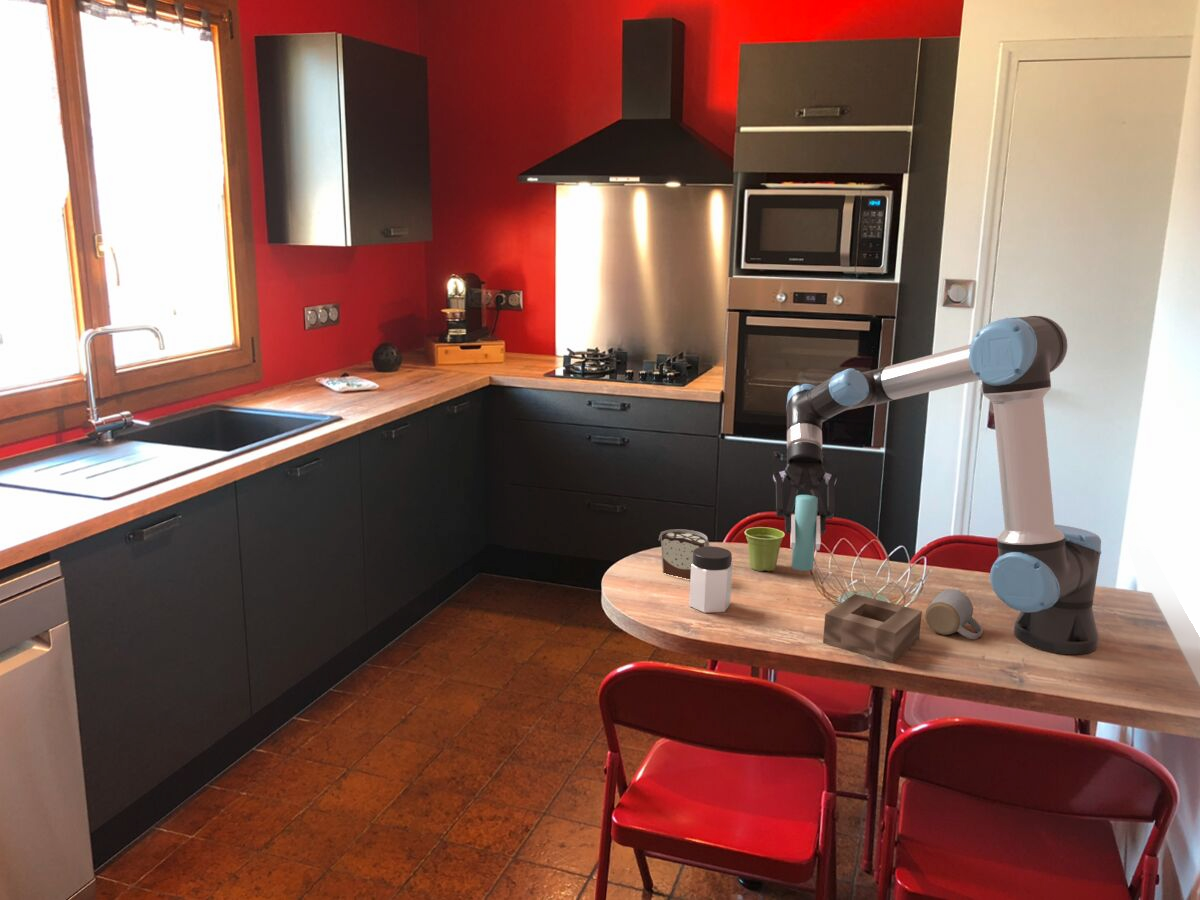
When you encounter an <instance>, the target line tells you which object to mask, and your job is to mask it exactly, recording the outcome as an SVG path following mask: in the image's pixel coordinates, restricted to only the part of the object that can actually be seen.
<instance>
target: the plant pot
mask: <svg viewBox="0 0 1200 900" xmlns="http://www.w3.org/2000/svg"><path fill="white" fill-rule="evenodd" d="M785 534H786V532H784V531H783V530H780V529H777V528H773V527H765V526H764V527H763V526H757V527H750V528H746V529H745V531H744V535H745V537H746V541H747V547H748V548H747V549H748V561H749V566H750V568H751V569H752V570H754V571H758V572H764V571H767V572H772V571H774V570H776V569H777V564H778V557H779V553H780V548H781V543H782V542H783V539H784V538H785V536H786V535H785Z"/></svg>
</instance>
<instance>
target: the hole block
mask: <svg viewBox="0 0 1200 900" xmlns="http://www.w3.org/2000/svg"><path fill="white" fill-rule="evenodd" d="M922 615H923V611H922V610H919V609H915V608H911V607H907V606H904V605H899V604H895V603H892V602H888V601H883V600H880V599H876V598H872V597H867V596H864V595H860V594H857V593H854V594H853V595H850V597H847V598H846V599H845V600H843V601H842V602H841V603H839V604H838V605H836V606H835V607H833V608H832V609H831V610H829V611H827V612H826V613H825V614H824V626H823V636H822V637H823V638H822V639H823V640H822V644H826V645H829V646H833V647H835V648H840V649H842V650H843V649H844V650H846V651H847V650H848V651H850V652H853V653H857V654H860V655H864V656H867V657H871V658H874V659H877V660H881V661H885V662H887V663H891V664H893V663H894V662H895V661H896V660H898V659H899V658H900V657H901V656H902V655H904V653H906V652H907V651H908V650H907V649H910V648H911V647H912V646H914V645H915V644H916V643H917V642H918V641H919V640H920V634H921V624H922V623H921V622H922ZM917 640H918V641H917ZM916 641H917V642H916ZM915 642H916V643H915ZM906 650H907V651H906Z"/></svg>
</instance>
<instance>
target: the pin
mask: <svg viewBox="0 0 1200 900" xmlns="http://www.w3.org/2000/svg"><path fill="white" fill-rule="evenodd" d="M817 503H818V498H817V497H815V496H812V494H811V495H810V494H797V496H796V500H795V503H794V507H795V508H794V515H795V547H794V549H792V557H791V569H794V570H796V571H804V572H805V571H807V572H808V571H812V570H813V569H814V565H815V564H814V563H815V562H814V561H815V559H814V558H815V532H816V517H817V516H818V515H817Z"/></svg>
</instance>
